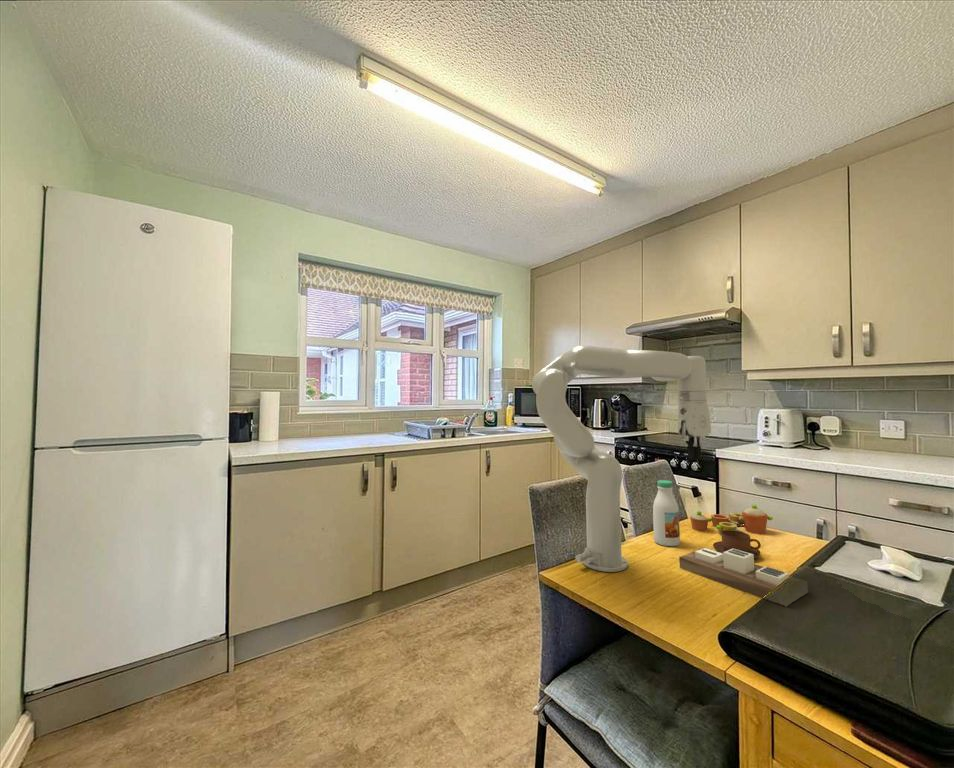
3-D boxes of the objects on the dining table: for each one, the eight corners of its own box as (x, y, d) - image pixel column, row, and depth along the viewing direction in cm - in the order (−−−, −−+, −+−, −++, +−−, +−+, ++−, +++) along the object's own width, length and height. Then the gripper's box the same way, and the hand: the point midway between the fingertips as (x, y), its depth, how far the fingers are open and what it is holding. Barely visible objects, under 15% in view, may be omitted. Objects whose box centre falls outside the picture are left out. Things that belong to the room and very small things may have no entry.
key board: (786, 607, 89) (785, 593, 89) (679, 567, 110) (679, 556, 110) (808, 593, 95) (807, 580, 95) (703, 558, 116) (703, 548, 116)
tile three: (780, 596, 93) (779, 577, 93) (756, 587, 97) (755, 569, 97) (789, 590, 95) (788, 572, 96) (765, 582, 100) (765, 565, 100)
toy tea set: (738, 521, 152) (737, 495, 153) (778, 534, 137) (777, 505, 138) (682, 527, 145) (681, 501, 146) (718, 541, 131) (716, 512, 131)
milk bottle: (655, 545, 127) (653, 483, 128) (652, 537, 134) (650, 478, 135) (682, 548, 125) (680, 484, 125) (677, 539, 132) (675, 479, 133)
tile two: (744, 574, 99) (744, 557, 99) (723, 567, 103) (723, 551, 104) (754, 570, 102) (753, 553, 102) (733, 563, 106) (732, 547, 106)
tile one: (714, 572, 105) (713, 556, 106) (695, 566, 110) (695, 550, 110) (724, 568, 108) (723, 552, 108) (705, 562, 112) (704, 547, 113)
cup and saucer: (745, 547, 125) (745, 528, 125) (770, 563, 113) (769, 541, 113) (705, 546, 126) (705, 527, 126) (725, 562, 114) (725, 540, 114)
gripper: (690, 397, 111) (692, 463, 110) (718, 397, 118) (721, 458, 118) (665, 398, 117) (667, 460, 116) (693, 397, 125) (695, 456, 124)
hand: (694, 459), depth 117 cm, fingers closed
